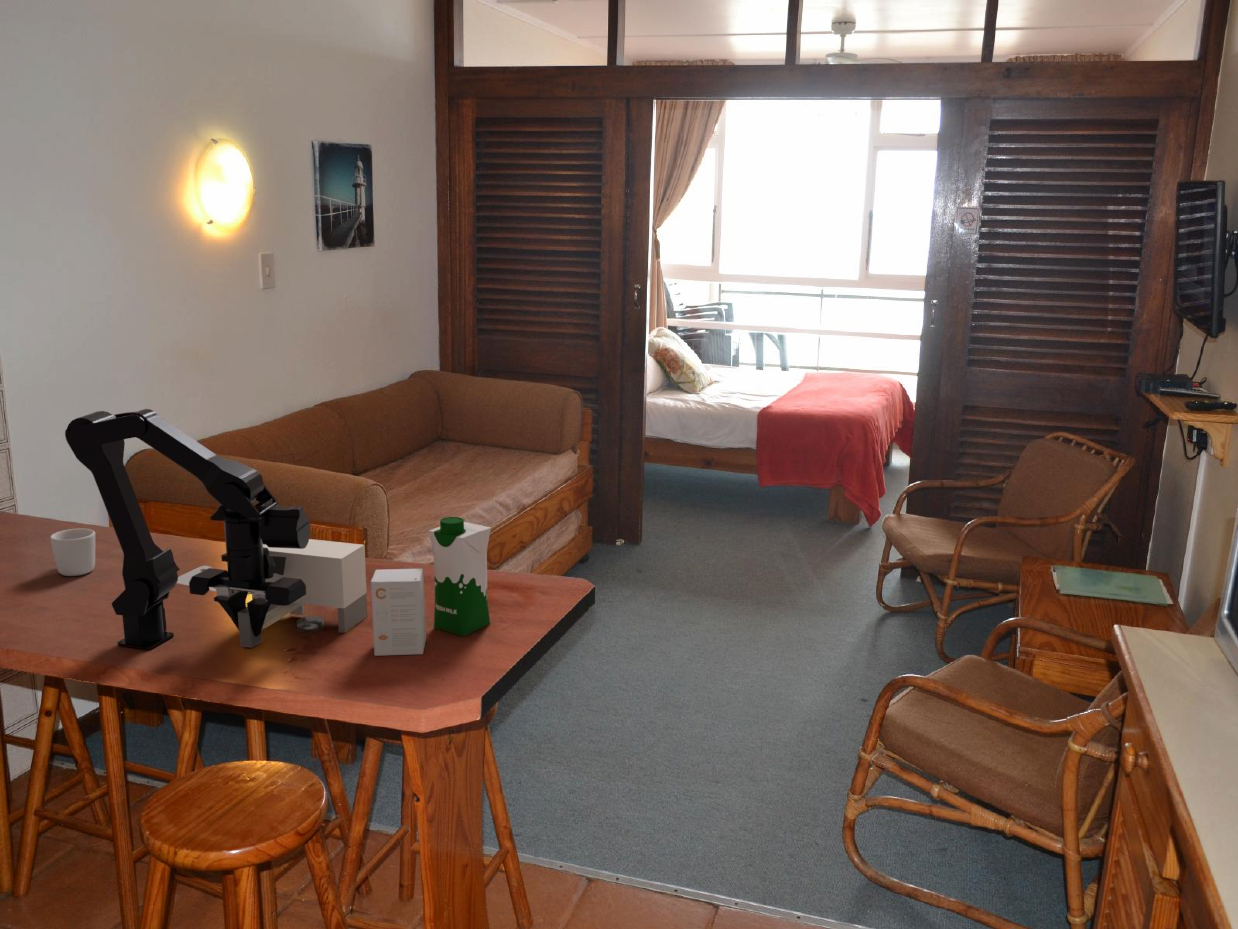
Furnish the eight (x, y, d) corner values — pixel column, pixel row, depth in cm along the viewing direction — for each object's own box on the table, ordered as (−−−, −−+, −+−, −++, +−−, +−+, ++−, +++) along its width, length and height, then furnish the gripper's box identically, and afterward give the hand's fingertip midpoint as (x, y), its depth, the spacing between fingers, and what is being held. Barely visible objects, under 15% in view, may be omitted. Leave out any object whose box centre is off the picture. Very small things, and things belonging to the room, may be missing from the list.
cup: (56, 564, 216) (51, 526, 214) (99, 559, 219) (95, 522, 217) (53, 581, 206) (48, 542, 204) (98, 576, 209) (94, 537, 208)
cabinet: (345, 633, 183) (341, 558, 180) (253, 621, 188) (248, 548, 185) (367, 616, 191) (364, 544, 188) (279, 605, 195) (274, 535, 192)
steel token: (315, 635, 183) (314, 627, 183) (292, 632, 184) (291, 624, 184) (328, 625, 187) (328, 617, 187) (306, 622, 188) (305, 614, 188)
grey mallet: (252, 647, 176) (250, 613, 174) (239, 646, 176) (236, 612, 175) (304, 614, 190) (303, 582, 189) (292, 612, 191) (290, 581, 190)
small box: (426, 640, 181) (424, 567, 178) (423, 655, 175) (421, 580, 172) (378, 641, 180) (375, 568, 177) (373, 656, 174) (370, 581, 171)
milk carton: (426, 628, 186) (423, 519, 181) (460, 612, 193) (458, 507, 189) (464, 639, 181) (462, 527, 177) (498, 623, 189) (496, 515, 184)
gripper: (321, 537, 178) (326, 624, 182) (225, 526, 183) (232, 611, 187) (283, 557, 168) (289, 649, 172) (183, 545, 173) (190, 635, 177)
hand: (250, 634), depth 177 cm, fingers closed on grey mallet, 2 cm apart
